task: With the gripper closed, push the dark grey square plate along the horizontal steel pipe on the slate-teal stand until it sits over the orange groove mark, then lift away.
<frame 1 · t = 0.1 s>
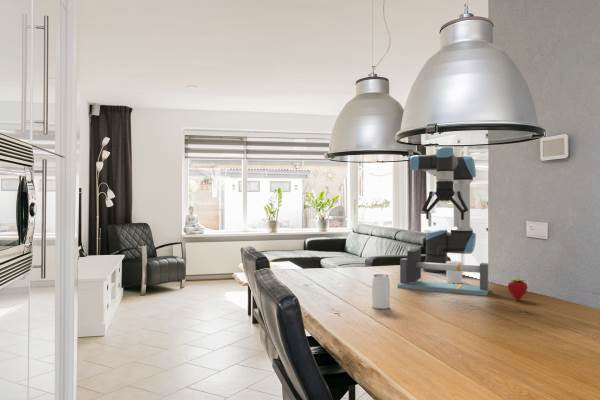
hand: (444, 226, 209), 28 cm above the table, fingers open, 13 cm apart
dark grey square plate: (414, 264, 212), point 10 cm above the table, slide at 0.0 cm
white cup: (454, 282, 222), on the table
strawberry: (517, 300, 182), on the table
can: (380, 307, 170), on the table
pipe stand: (442, 288, 206), on the table
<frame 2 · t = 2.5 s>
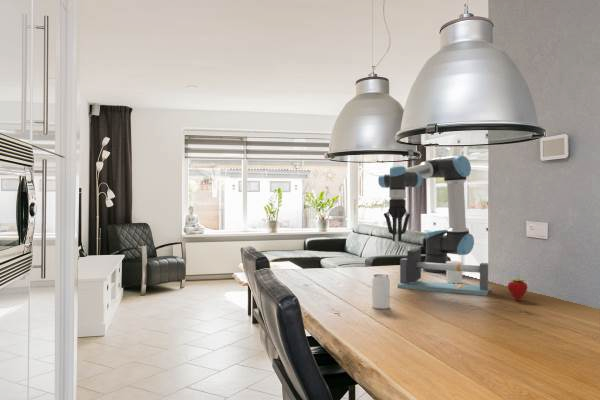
hand: (397, 248, 215), 17 cm above the table, fingers closed
nothing on the table moved.
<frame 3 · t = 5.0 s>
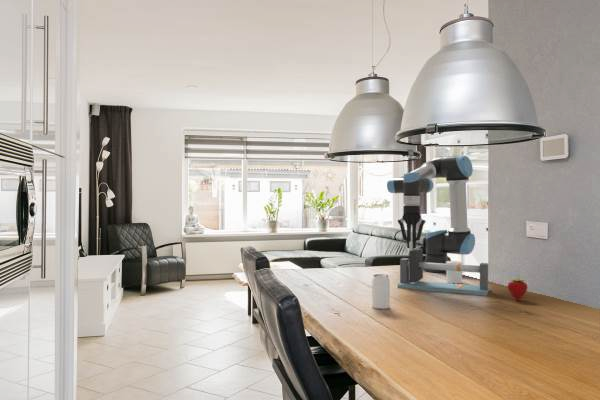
hand: (411, 255, 212), 14 cm above the table, fingers closed
dark grey square plate: (416, 265, 211), point 10 cm above the table, slide at 1.0 cm, touching gripper
everything else where it was.
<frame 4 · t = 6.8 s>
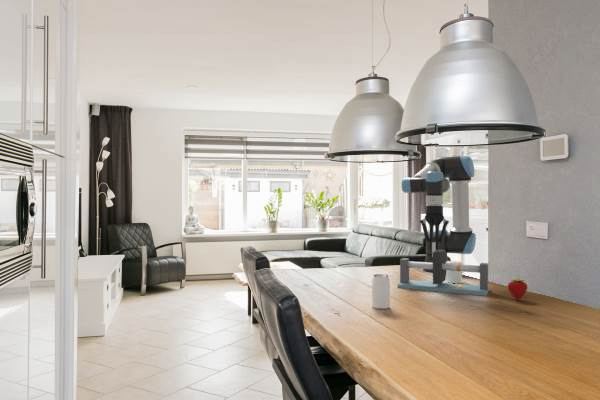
hand: (434, 256, 207), 14 cm above the table, fingers closed
dark grey square plate: (439, 266, 206), point 10 cm above the table, slide at 11.4 cm, touching gripper
everything else where it was.
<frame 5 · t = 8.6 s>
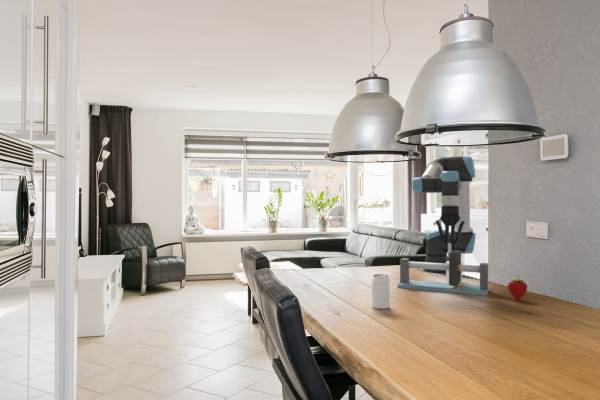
hand: (450, 257, 204), 14 cm above the table, fingers closed
dark grey square plate: (455, 267, 203), point 10 cm above the table, slide at 18.4 cm, touching gripper
everything else where it was.
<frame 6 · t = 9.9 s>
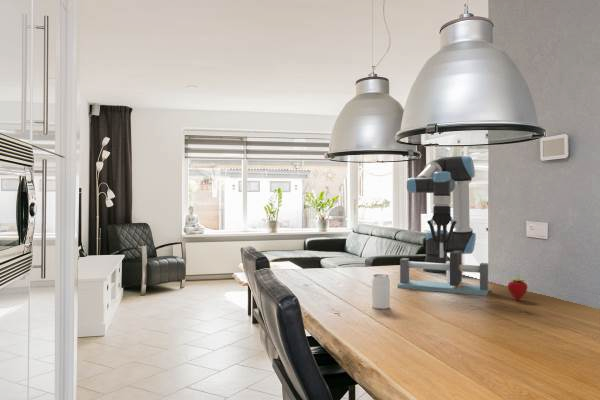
hand: (441, 257, 206), 14 cm above the table, fingers closed
dark grey square plate: (455, 267, 203), point 10 cm above the table, slide at 18.7 cm
everything else where it was.
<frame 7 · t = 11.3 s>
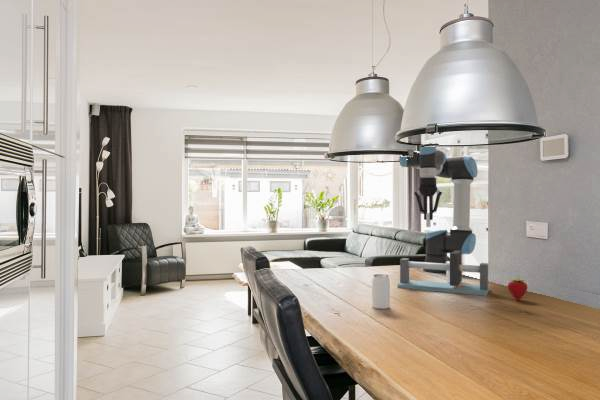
hand: (428, 226, 215), 28 cm above the table, fingers closed
nothing on the table moved.
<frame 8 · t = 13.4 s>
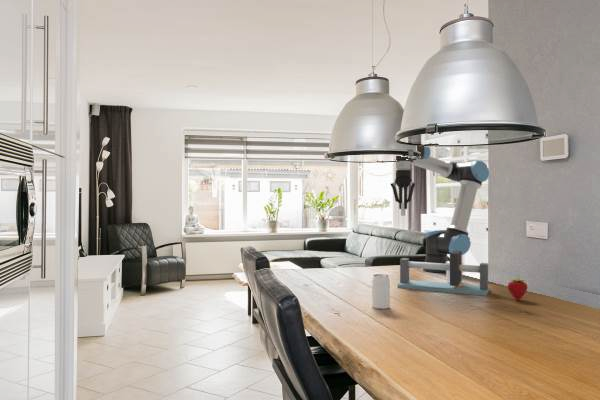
hand: (403, 215, 232), 32 cm above the table, fingers closed
nothing on the table moved.
at the end: dark grey square plate slide at 18.7 cm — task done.
